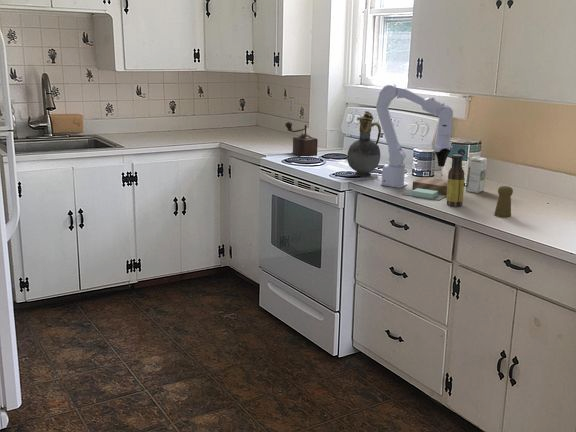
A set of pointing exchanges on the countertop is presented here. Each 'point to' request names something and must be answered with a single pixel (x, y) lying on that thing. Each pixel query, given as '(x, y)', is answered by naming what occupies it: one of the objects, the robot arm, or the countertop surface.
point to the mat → (424, 197)
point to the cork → (504, 202)
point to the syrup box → (476, 174)
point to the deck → (431, 185)
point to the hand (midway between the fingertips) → (441, 166)
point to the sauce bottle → (455, 182)
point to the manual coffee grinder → (303, 143)
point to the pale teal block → (424, 193)
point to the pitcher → (364, 148)
